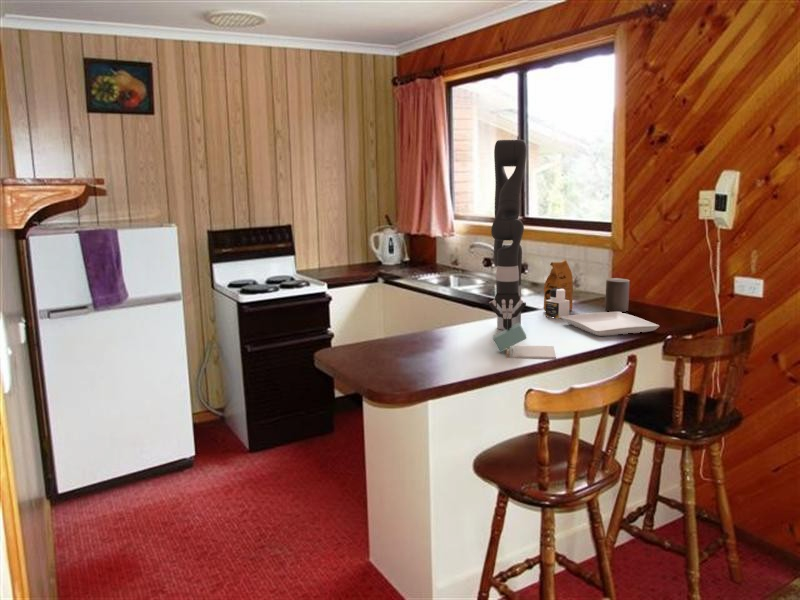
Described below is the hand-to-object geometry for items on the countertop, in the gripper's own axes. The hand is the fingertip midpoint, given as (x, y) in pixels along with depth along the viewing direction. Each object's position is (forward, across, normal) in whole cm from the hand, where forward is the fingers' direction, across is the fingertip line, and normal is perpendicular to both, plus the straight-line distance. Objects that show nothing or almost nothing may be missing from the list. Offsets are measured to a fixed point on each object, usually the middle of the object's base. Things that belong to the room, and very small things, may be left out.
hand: (507, 329), depth 228 cm
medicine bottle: (+8, -20, -58) cm, 62 cm away
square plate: (+9, -38, -38) cm, 55 cm away
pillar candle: (+8, -46, -71) cm, 85 cm away
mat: (+8, -9, 0) cm, 12 cm away
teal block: (+5, +4, 0) cm, 6 cm away
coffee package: (+8, -21, -70) cm, 74 cm away
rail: (+8, 0, 0) cm, 8 cm away
